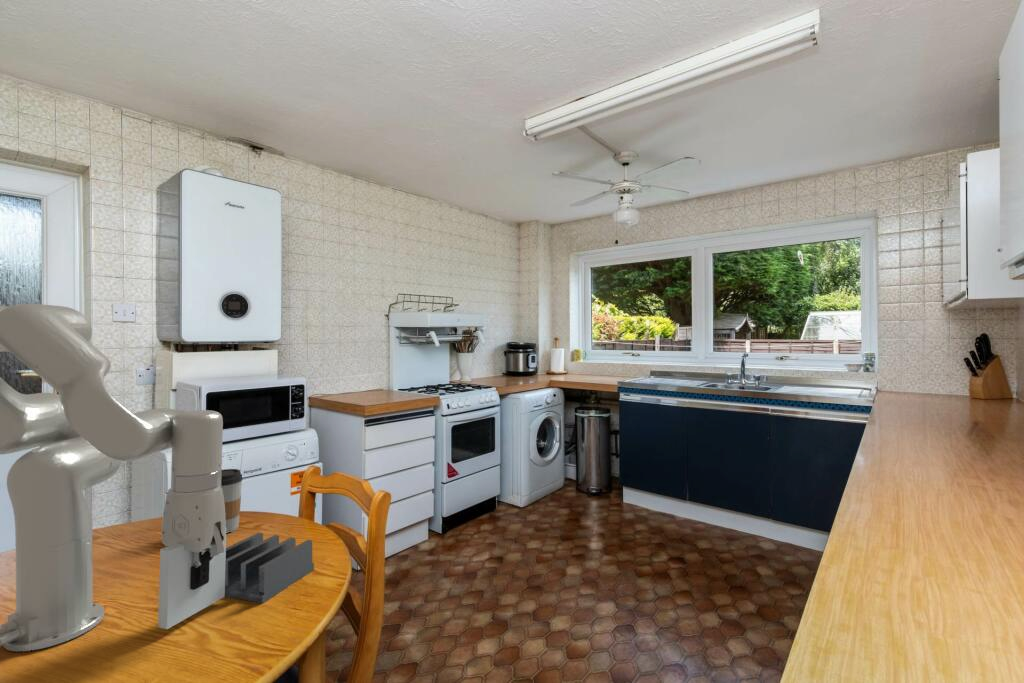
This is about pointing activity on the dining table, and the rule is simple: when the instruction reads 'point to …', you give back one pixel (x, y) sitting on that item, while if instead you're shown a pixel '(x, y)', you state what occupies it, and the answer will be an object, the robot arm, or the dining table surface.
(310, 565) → the dish rack
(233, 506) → the coffee cup
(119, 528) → the dining table surface
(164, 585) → the plate
